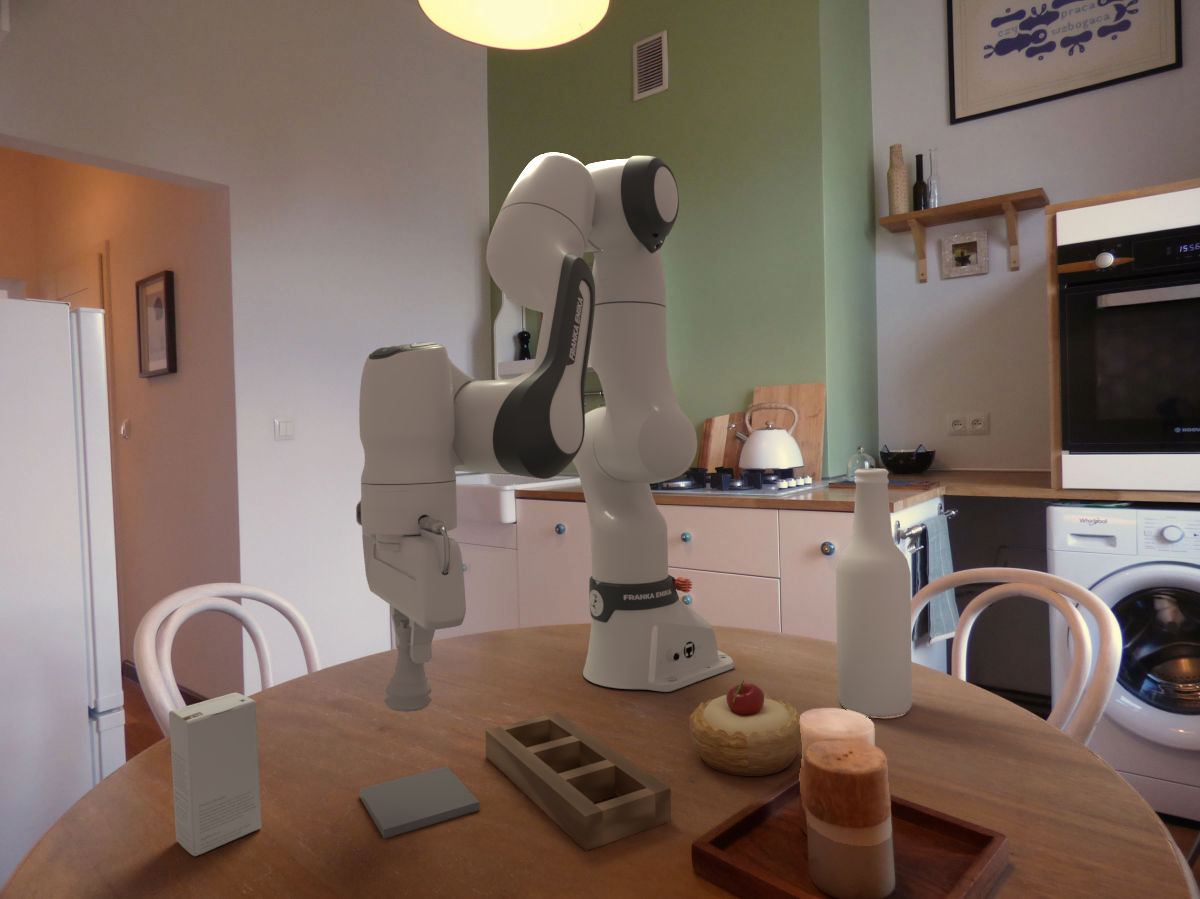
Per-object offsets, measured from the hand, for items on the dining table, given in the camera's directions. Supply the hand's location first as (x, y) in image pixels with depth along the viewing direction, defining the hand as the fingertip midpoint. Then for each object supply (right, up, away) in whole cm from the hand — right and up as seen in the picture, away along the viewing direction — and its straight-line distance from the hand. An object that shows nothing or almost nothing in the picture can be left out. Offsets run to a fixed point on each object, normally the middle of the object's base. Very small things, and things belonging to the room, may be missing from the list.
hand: (413, 655), depth 72 cm
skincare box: (-16, -15, -5) cm, 23 cm away
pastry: (+34, -14, +9) cm, 38 cm away
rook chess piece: (-1, -5, 0) cm, 5 cm away
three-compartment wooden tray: (+15, -14, +3) cm, 21 cm away
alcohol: (+52, -13, +22) cm, 59 cm away
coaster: (0, -15, 0) cm, 15 cm away
